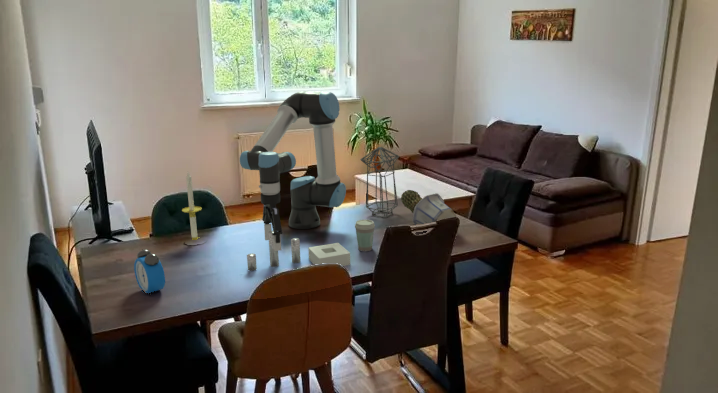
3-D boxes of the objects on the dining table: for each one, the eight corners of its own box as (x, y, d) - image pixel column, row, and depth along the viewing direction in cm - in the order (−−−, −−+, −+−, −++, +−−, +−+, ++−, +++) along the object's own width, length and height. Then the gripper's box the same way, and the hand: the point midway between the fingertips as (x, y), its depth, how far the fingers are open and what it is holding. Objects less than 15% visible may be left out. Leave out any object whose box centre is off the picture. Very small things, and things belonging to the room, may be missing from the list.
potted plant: (464, 202, 254) (421, 175, 275) (434, 211, 244) (392, 182, 266) (457, 235, 262) (416, 206, 283) (428, 245, 253) (388, 214, 274)
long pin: (269, 264, 225) (267, 231, 221) (277, 263, 226) (275, 230, 223) (271, 267, 222) (269, 234, 218) (279, 266, 223) (278, 232, 220)
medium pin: (291, 261, 229) (289, 238, 226) (299, 259, 230) (298, 237, 227) (293, 263, 226) (292, 241, 223) (301, 262, 227) (300, 240, 224)
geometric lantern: (387, 221, 276) (385, 151, 267) (360, 216, 285) (357, 148, 275) (403, 212, 289) (401, 145, 280) (377, 208, 298) (374, 143, 288)
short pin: (247, 268, 222) (246, 254, 220) (255, 267, 223) (254, 252, 221) (249, 271, 219) (247, 257, 217) (257, 270, 220) (256, 255, 218)
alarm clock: (136, 288, 206) (131, 249, 202) (152, 283, 210) (147, 245, 206) (151, 299, 196) (146, 259, 192) (168, 294, 200) (163, 254, 196)
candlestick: (178, 244, 249) (170, 172, 240) (193, 237, 258) (186, 167, 249) (197, 247, 246) (190, 174, 237) (211, 239, 254) (204, 169, 246)
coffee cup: (373, 253, 236) (373, 225, 232) (353, 251, 237) (352, 224, 234) (376, 245, 244) (376, 219, 240) (357, 244, 245) (356, 218, 242)
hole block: (308, 259, 230) (308, 247, 229) (338, 253, 235) (338, 242, 234) (319, 270, 219) (319, 258, 217) (350, 264, 224) (350, 253, 222)
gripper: (253, 186, 226) (256, 236, 231) (269, 201, 204) (272, 256, 209) (271, 184, 229) (273, 234, 234) (289, 199, 207) (291, 253, 212)
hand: (273, 244), depth 222 cm, fingers open, 13 cm apart
